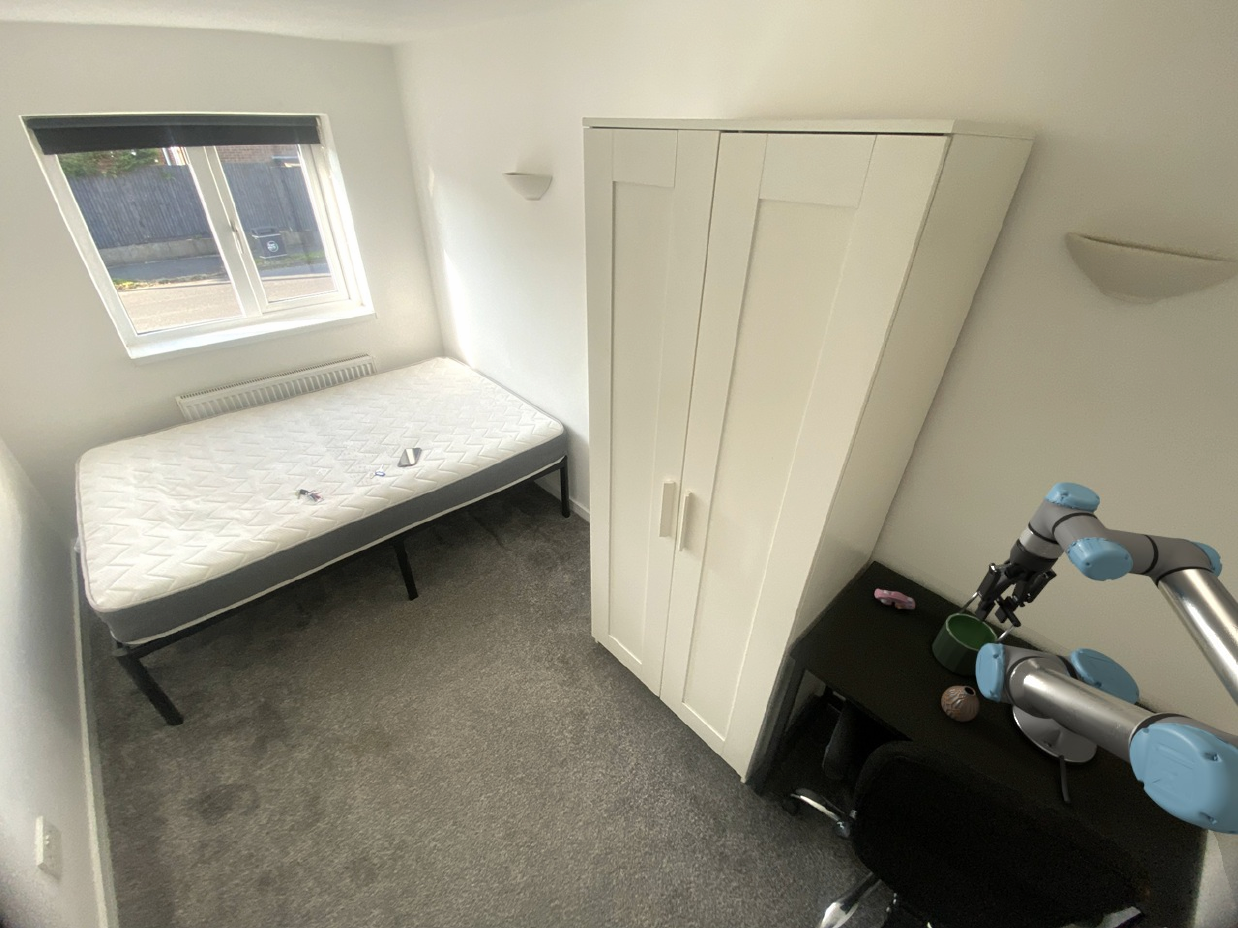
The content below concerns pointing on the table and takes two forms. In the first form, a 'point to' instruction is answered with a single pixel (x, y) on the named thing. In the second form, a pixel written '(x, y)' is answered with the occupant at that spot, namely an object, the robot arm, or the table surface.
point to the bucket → (967, 638)
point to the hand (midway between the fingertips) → (989, 617)
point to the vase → (960, 703)
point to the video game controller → (895, 599)
